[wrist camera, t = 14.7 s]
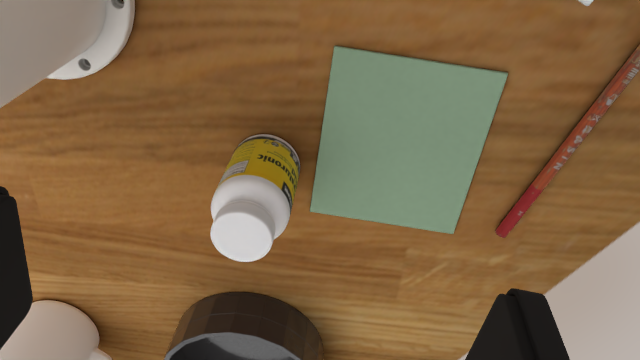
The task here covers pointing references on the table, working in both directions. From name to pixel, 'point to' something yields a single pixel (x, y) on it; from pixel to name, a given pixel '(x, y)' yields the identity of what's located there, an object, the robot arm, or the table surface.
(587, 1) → the small box
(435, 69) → the cloth
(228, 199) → the supplement bottle
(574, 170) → the table surface
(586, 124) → the pencil
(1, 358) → the mug
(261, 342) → the pan
